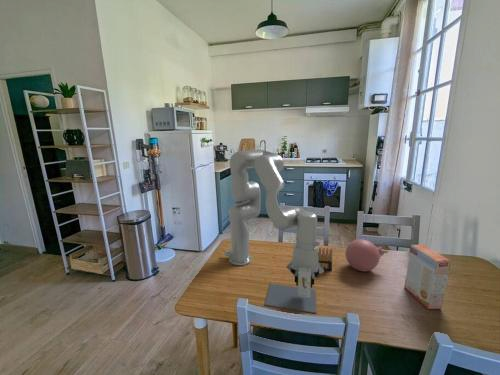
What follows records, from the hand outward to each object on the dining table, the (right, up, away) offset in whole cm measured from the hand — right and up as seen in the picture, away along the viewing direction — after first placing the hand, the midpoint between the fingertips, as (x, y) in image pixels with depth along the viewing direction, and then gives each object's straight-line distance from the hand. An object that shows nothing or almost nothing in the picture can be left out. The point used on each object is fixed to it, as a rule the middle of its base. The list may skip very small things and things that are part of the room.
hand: (304, 284), depth 98 cm
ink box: (0, -3, +1) cm, 3 cm away
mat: (-5, -7, +3) cm, 9 cm away
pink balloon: (+36, -2, +23) cm, 43 cm away
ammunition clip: (+14, -2, +24) cm, 27 cm away
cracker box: (+49, -7, +2) cm, 50 cm away
